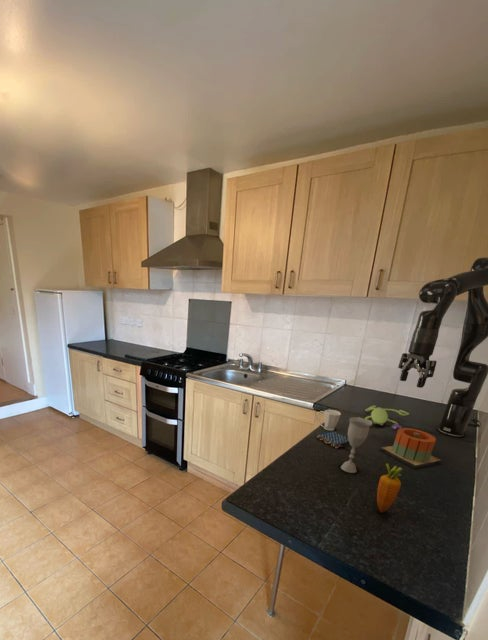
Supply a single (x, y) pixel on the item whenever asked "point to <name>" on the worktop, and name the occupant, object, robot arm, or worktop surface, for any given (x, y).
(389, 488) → the carrot
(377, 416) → the figurine
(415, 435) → the ring stand
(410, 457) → the green ring
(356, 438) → the chalice
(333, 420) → the cup
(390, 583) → the worktop surface
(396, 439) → the orange ring
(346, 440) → the woven mat
